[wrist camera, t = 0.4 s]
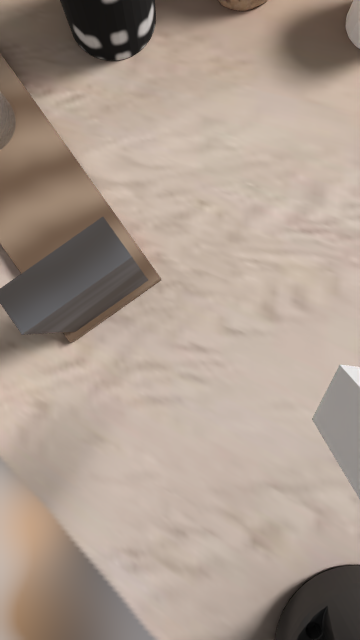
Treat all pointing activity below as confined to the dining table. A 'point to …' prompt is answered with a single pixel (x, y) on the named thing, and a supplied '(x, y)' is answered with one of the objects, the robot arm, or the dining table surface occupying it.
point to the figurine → (241, 4)
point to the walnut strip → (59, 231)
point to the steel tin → (6, 121)
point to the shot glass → (354, 23)
